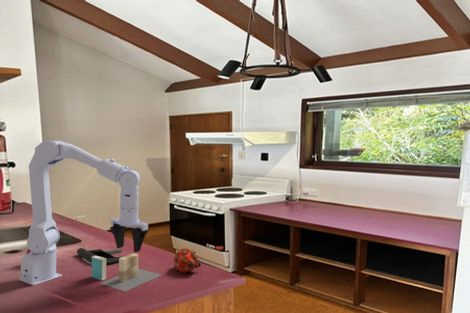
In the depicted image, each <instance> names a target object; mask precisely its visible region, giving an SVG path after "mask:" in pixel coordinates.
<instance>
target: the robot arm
mask: <svg viewBox="0 0 470 313" xmlns="http://www.w3.org/2000/svg"><path fill="white" fill-rule="evenodd" d="M65 159H69V160H70V159H73V160H76V161H77V162H80V163H82V164H85V165H87V166H89V167H92V168H94V169H96V170H97V173H98V175H99V176H101V177H104V178H106V179H107V180H109V181H112V182H114V183H116V184H117V183H118V185H119V187H120V194H119V196H120V197H119V202H120V203H119V204H120V205H119V217H114V218H110V225H111V226H109V230H110V232H111V233H112V235H113V238H114V241H115V244H116V249H121V248H124V244H125V235H126V234H125V233H126V229H127V228H130V229H131V228H132V230H130V233H131V236H132V242H133V252H134V253H139V252H141V249H142V246H143V243H144V240H145V237H146V235H147V234H148V232H149V223H147V222H144V221H142V220H140V219H139V209H140V208H139V200H140V199H139V197H140V195H139V194H140V193H139V190H140V188H139V183H140V182H141V175H140V173H139V172H138V171H136V170H135V169H133V168H132V169H129V167H128V166H127V165H126V166H124V165H122V164H120V163H118V162H116V159H114V158H110V159H109V158H105V159H101V158H99V157H97V156H96V155H93V154H92V153H89V152H88V151H86V150H84V149H82V148H80V147H79V146H76V145H74V144H72V143H68V142H67V141H64V140H51V139H47V140H43V141H42V142H40V143H39V144H37V145H36V146H35V147H34V153H33V156H32V157H31V159H30V162H29V164H28V172H29V173H28V174H29V186H30V188H29V189H30V197H31V199H30V200H31V211H32V222H31V223H32V224H31V225H30V227H29V229H28V233H29V234H28V238H27V239H26V245H27V249H29V250H30V251H31V252H30V253H29V254H27V255H26V254H25V255H23V256H22V258H21V259H20V278H19V281H20V282H23V283H25V284H28V285H33V286H35V285H38V284H41V283H44V282H47V281H50V280H54V279H55V278H59V277H62V276H63V274H61V273H58V272H57V243H59V240H60V237H61V235H60V231H59V229H58V227H57V223H56V220H54V219H53V214H52V212H53V210H52V199H51V184H50V174H49V173H50V172H49V170H50V169H51V168H52V167H54V166H55V165H56V164H57V163H59V162H60V161H63V160H65Z"/></svg>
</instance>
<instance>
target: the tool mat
mask: <svg viewBox="0 0 470 313" xmlns="http://www.w3.org/2000/svg"><path fill="white" fill-rule="evenodd" d="M159 277H162V274H160V273H157V272H152V271H149V270H145V269H141V268H138V276H137V277H134V278H132V279H130V280H127V281H125V282H123V281H120V280H119V275H116V276H114V277H112V278H109V279H107V280H105V281H103V282H99V284H100V285H103V286H107V287H109V288H112V289H116V290H119V291H123V292H124V293H125V292H128V291H130V290H132V289H134V288H137V287H138V286H141V285H143V284H145V283H148V282H150V281H153V280H154V279H156V278H159Z"/></svg>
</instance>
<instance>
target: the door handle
mask: <svg viewBox="0 0 470 313" xmlns="http://www.w3.org/2000/svg"><path fill="white" fill-rule="evenodd" d="M122 252H123V249H121V248H116V249H115V248H114V249H108V250H103V249H101V248H98V249H92V250H87V249H85V248H84V247H80V248H78V249H77V250H76V254H77V255H78V256H79V257H80V258H82V260H83V261H85V262H86V263H88V264H90V265H91V266H92V257H93V256H99V257H103V258H106V267H107V266H111V265H116V264H119V258H121V257H124V256H125V255H123V256H114V255H117V254H121V253H122Z"/></svg>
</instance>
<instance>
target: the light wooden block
mask: <svg viewBox="0 0 470 313" xmlns="http://www.w3.org/2000/svg"><path fill="white" fill-rule="evenodd" d="M123 256H124V257H121V256H120V257H121V258H119V263H118V276H119V280H120V281H123V282H125V281H127V280H130V279H132V278H134V277H137V276H138V269H139V254H138V253H130V254H127V255H123Z"/></svg>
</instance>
